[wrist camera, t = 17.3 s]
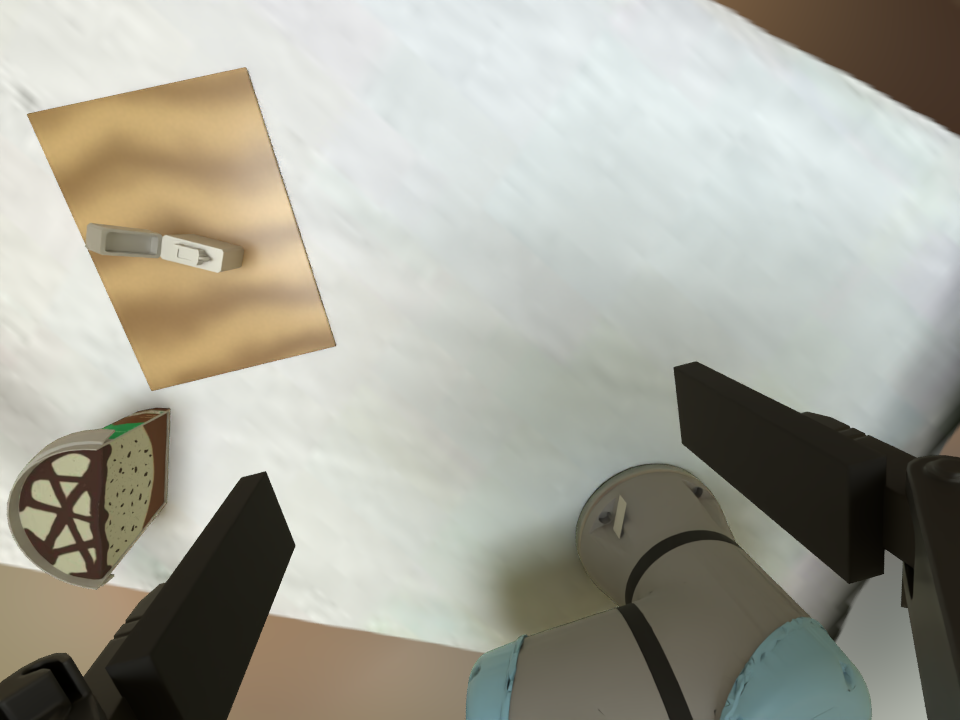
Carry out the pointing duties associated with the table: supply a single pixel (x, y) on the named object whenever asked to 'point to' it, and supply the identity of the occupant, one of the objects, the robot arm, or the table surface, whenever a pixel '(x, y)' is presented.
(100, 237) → the lighter
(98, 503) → the food container
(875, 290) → the table surface
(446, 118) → the table surface
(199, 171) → the wooden board
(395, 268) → the table surface
